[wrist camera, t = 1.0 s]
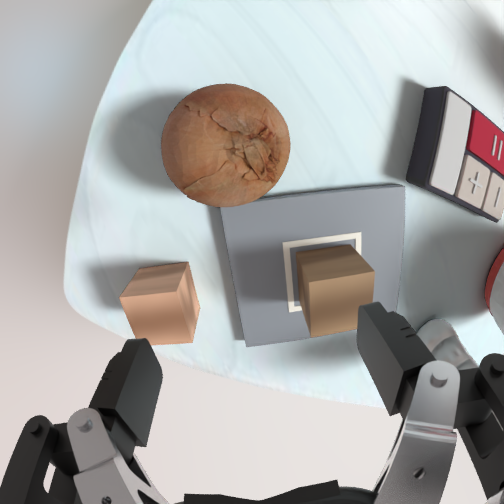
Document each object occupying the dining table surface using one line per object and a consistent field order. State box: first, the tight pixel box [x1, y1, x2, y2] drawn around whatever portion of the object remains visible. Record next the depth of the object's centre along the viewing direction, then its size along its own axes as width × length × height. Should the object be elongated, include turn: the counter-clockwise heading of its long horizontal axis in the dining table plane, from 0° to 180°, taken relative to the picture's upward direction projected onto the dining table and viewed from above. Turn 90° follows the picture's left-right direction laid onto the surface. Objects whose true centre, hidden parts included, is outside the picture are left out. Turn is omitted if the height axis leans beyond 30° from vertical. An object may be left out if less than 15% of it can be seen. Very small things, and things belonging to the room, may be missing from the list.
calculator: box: [406, 86, 504, 223], centre depth 23 cm, size 11×4×15 cm
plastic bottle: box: [416, 319, 503, 430], centre depth 24 cm, size 6×7×20 cm
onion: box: [161, 84, 290, 207], centre depth 20 cm, size 10×9×10 cm
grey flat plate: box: [220, 185, 405, 347], centre depth 28 cm, size 16×18×1 cm
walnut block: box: [296, 244, 375, 338], centre depth 25 cm, size 6×6×6 cm
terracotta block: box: [119, 262, 200, 345], centre depth 27 cm, size 6×6×6 cm
